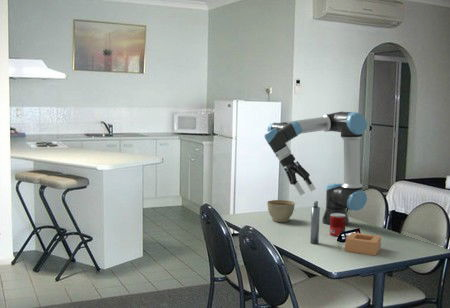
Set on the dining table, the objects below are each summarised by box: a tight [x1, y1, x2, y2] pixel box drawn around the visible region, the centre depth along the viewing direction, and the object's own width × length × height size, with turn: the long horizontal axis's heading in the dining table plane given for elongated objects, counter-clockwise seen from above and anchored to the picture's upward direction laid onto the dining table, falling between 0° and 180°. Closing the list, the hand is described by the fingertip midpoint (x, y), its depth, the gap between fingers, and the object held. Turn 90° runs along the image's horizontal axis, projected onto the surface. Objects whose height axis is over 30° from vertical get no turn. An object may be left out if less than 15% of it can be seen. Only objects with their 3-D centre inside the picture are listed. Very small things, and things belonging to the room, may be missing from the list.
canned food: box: [329, 213, 346, 237], centre depth 286 cm, size 8×8×11 cm
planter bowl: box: [266, 199, 296, 223], centre depth 317 cm, size 16×16×11 cm
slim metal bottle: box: [309, 200, 321, 245], centre depth 268 cm, size 4×4×21 cm
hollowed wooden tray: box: [344, 232, 382, 256], centre depth 258 cm, size 14×14×6 cm
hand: (308, 192), depth 274 cm, fingers open, 13 cm apart
